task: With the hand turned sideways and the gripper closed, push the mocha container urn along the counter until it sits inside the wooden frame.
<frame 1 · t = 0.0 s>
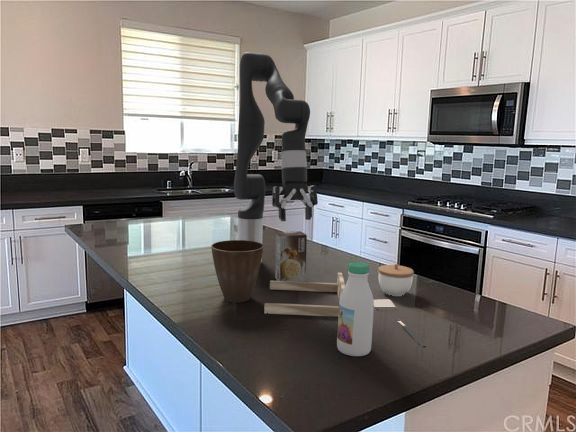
hand: (295, 220, 139), 22 cm above the counter, tool pointing down, fingers open, 8 cm apart
milk bottle: (353, 350, 104), on the counter
coffee box: (290, 280, 154), on the counter
wooden frame: (301, 301, 134), on the counter
lidded jar: (394, 293, 144), on the counter
plant pot: (236, 299, 135), on the counter
spatula: (399, 324, 121), on the counter
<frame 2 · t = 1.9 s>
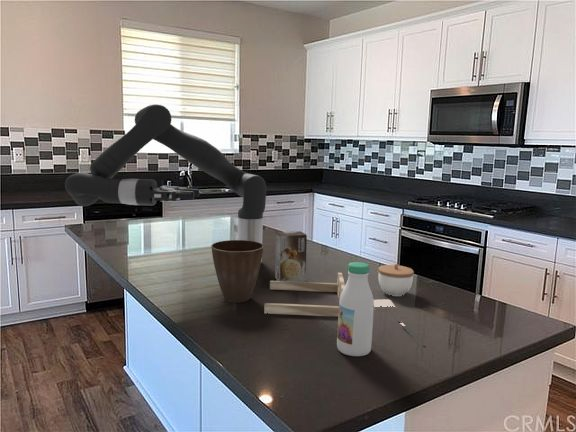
hand: (196, 194, 132), 30 cm above the counter, tool horizontal, fingers open, 5 cm apart
nothing on the counter moved.
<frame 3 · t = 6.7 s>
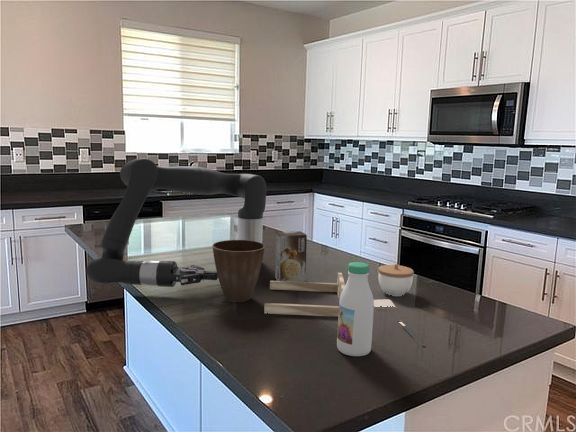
hand: (217, 275, 134), 7 cm above the counter, tool horizontal, fingers closed
plant pot: (237, 298, 135), on the counter, touching gripper
everything else where it was.
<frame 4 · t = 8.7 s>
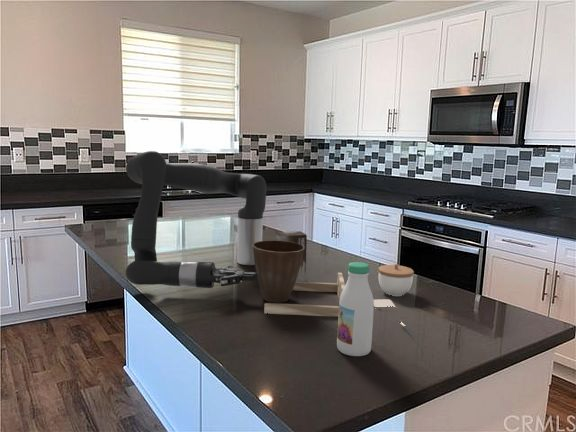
hand: (256, 276, 133), 7 cm above the counter, tool horizontal, fingers closed
plant pot: (275, 299, 135), on the counter, touching gripper
everything else where it was.
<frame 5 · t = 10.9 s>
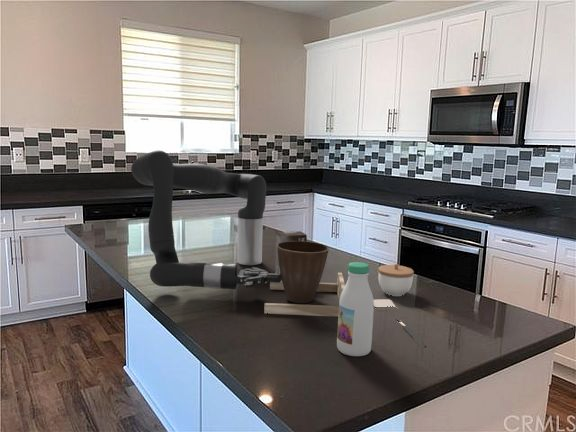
hand: (280, 278, 133), 7 cm above the counter, tool horizontal, fingers closed
plant pot: (298, 299, 136), on the counter, touching gripper
everything else where it was.
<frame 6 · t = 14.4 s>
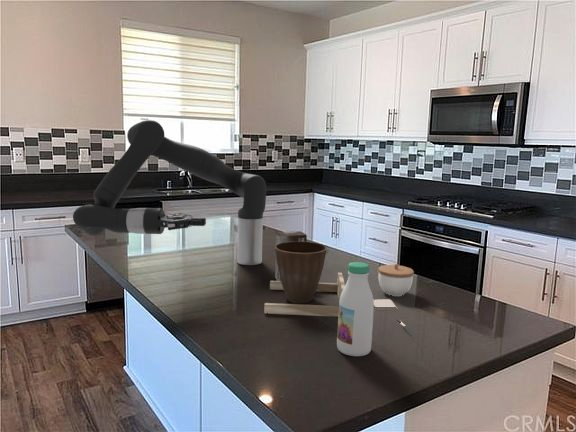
hand: (205, 221, 133), 22 cm above the counter, tool horizontal, fingers closed
plant pot: (298, 300, 136), on the counter
everything else where it was.
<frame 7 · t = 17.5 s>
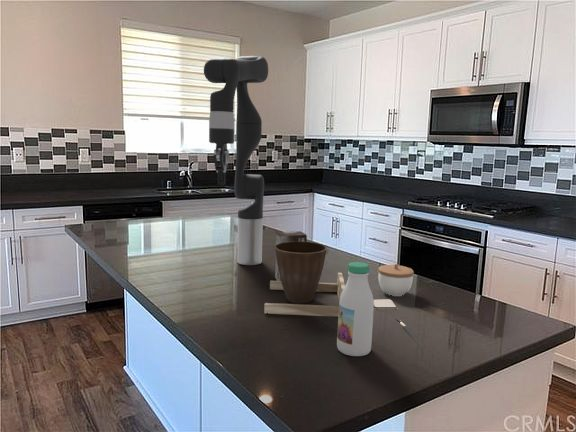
hand: (221, 184, 142), 32 cm above the counter, tool pointing down, fingers closed
nothing on the counter moved.
at the end: plant pot 1.8 cm off-centre on the wooden frame, point 0.0 cm above the wooden frame's base; plant pot tilted 0° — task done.
